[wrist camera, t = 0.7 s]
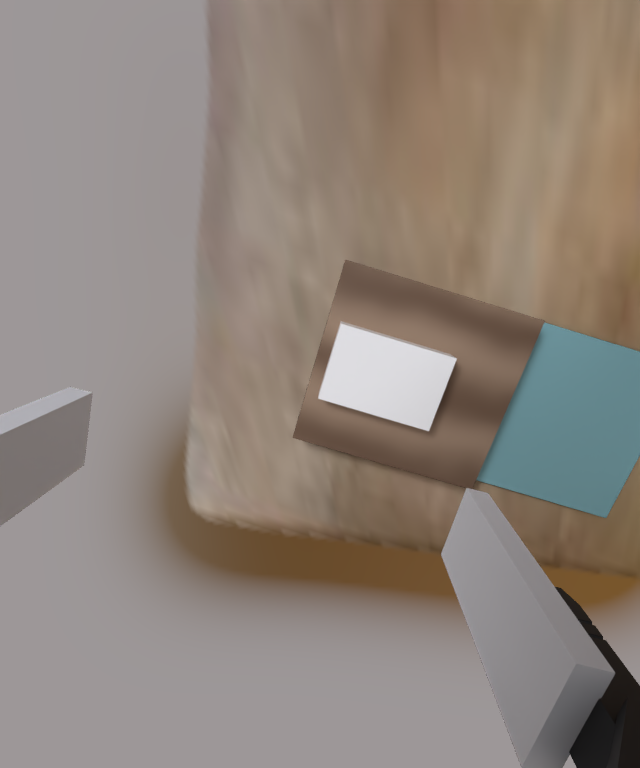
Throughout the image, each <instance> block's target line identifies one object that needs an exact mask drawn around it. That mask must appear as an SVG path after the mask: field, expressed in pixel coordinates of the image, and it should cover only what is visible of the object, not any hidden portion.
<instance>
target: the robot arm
mask: <svg viewBox="0 0 640 768" xmlns="http://www.w3.org/2000/svg"><path fill="white" fill-rule="evenodd" d="M91 401H92V392H89V391H84V390H81V389H76V388H72V387H69V388H66V389H64V390H61V391H59V392H56V393H54V394H51V395H49V396H46V397H44V398H41V399H38V400H36V401H34V402H31V403H29V404H26V405H24V406H21V407H18V408H16V409H13V410H11V411H9V412H6V413H3V414H1V415H0V526H1V525H3V524H4V523H5V522H7V521H8V520H10V519H11V518H12V517H14V516H15V515H16V514H18V513H19V512H21V511H22V510H23V509H25V508H26V507H27V506H29V505H30V504H31V503H33V502H34V501H36V500H37V499H38V498H40V497H41V496H42V495H44V494H45V493H46V492H48V491H49V490H51V489H52V488H53V487H55V486H56V485H58V484H59V483H60V482H62V481H63V480H64V479H66V478H67V477H69V476H70V475H71V474H73V473H74V472H75V471H77V470H78V469H79V468H81V467H82V466H84V462H85V453H86V444H87V435H88V428H89V419H90V410H91ZM441 556H442V558H443V561H444V564H445V566H446V569H447V571H448V574H449V577H450V580H451V582H452V585H453V587H454V590H455V593H456V595H457V598H458V601H459V603H460V606H461V609H462V611H463V614H464V616H465V619H466V622H467V625H468V627H469V630H470V632H471V635H472V638H473V640H474V643H475V646H476V648H477V651H478V654H479V656H480V659H481V661H482V664H483V667H484V669H485V672H486V675H487V678H488V680H489V683H490V685H491V688H492V691H493V693H494V696H495V699H496V701H497V704H498V707H499V709H500V712H501V715H502V717H503V720H504V723H505V725H506V727H507V730H508V733H509V736H510V738H511V741H512V744H513V746H514V749H515V752H516V754H517V757H518V759H519V762H520V765H521V767H522V768H562V767H563V766H564V764H565V762H566V760H567V758H568V757H569V755H571V757H572V759H573V761H574V763H575V765H576V767H577V768H640V686H639V684H638V683H637V682H636V680H635V679H634V678H633V676H632V675H631V674H630V672H629V671H628V670H627V668H626V667H625V665H624V664H623V663H622V661H621V660H620V659H619V657H618V656H617V655H616V654H615V652H614V651H613V650H612V648H611V647H610V645H609V644H608V643H607V641H605V640H603V636H602V635H601V634H600V632H599V631H598V629H597V628H596V627H595V626H594V625H592V621H591V620H590V619H589V617H588V616H587V614H586V613H585V612H584V611H583V609H582V608H581V606H580V605H579V604H578V603H577V602H576V601H574V600H573V599H572V598H571V597H570V596H569V595H568V594H567V593H565V592H564V591H563V590H562V589H561V588H558V587H554V585H553V584H552V583H551V581H550V580H549V579H548V577H547V576H546V574H545V573H544V571H543V570H542V568H541V567H540V566H539V564H538V563H537V561H536V560H535V559H534V557H533V556H532V554H531V553H530V552H529V550H528V549H527V547H526V546H525V544H524V543H523V542H522V540H521V539H520V537H519V536H518V535H517V533H516V532H515V530H514V529H513V528H512V526H511V525H510V523H509V522H508V520H507V519H506V518H505V516H504V515H503V513H502V512H501V511H500V509H499V508H498V506H497V505H496V504H495V502H494V501H493V499H492V498H491V496H490V495H489V494H488V493H486V492H482V491H478V490H474V489H470V488H466V491H465V494H464V496H463V499H462V501H461V504H460V506H459V509H458V512H457V514H456V517H455V519H454V522H453V525H452V527H451V530H450V532H449V535H448V538H447V540H446V543H445V545H444V548H443V551H442V553H441Z"/></svg>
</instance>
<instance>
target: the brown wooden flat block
mask: <svg viewBox="0 0 640 768" xmlns="http://www.w3.org/2000/svg"><path fill="white" fill-rule="evenodd" d="M341 321H342V322H345V323H349V324H352V325H355V326H359V327H362V328H365V329H369V330H372V331H375V332H379V333H382V334H385V335H389V336H392V337H395V338H398V339H402V340H405V341H408V342H412V343H415V344H418V345H422V346H425V347H428V348H432V349H435V350H438V351H442V352H445V353H448V354H451V355H452V356H454V357H455V358H457V360H456V362H455V365H454V368H453V370H452V373H451V375H450V378H449V381H448V383H447V386H446V388H445V391H444V393H443V396H442V399H441V401H440V404H439V406H438V409H437V412H436V414H435V417H434V419H433V422H432V424H431V427H430V430H429V431H426V430H423V429H419V428H416V427H413V426H409V425H406V424H402V423H399V422H396V421H392V420H389V419H385V418H382V417H379V416H375V415H372V414H368V413H365V412H362V411H358V410H355V409H352V408H348V407H345V406H341V405H338V404H335V403H331V402H328V401H324V400H321V399H318V395H319V390H320V387H321V384H322V381H323V377H324V374H325V371H326V367H327V364H328V361H329V358H330V354H331V351H332V348H333V345H334V341H335V338H336V335H337V332H338V328H339V325H340V322H341ZM544 322H545V321H544V320H540V319H537V318H534V317H531V316H527V315H524V314H521V313H518V312H514V311H511V310H508V309H505V308H501V307H498V306H495V305H492V304H488V303H485V302H482V301H479V300H475V299H472V298H469V297H466V296H462V295H459V294H456V293H452V292H449V291H446V290H443V289H439V288H436V287H433V286H430V285H426V284H423V283H420V282H417V281H413V280H410V279H407V278H404V277H400V276H397V275H394V274H391V273H387V272H384V271H381V270H378V269H374V268H371V267H368V266H365V265H361V264H358V263H355V262H352V261H348V260H345V263H344V266H343V270H342V273H341V276H340V280H339V283H338V286H337V290H336V293H335V296H334V300H333V303H332V307H331V310H330V313H329V317H328V320H327V323H326V327H325V330H324V333H323V337H322V340H321V344H320V347H319V350H318V354H317V357H316V360H315V364H314V367H313V370H312V374H311V377H310V380H309V384H308V387H307V391H306V394H305V397H304V401H303V404H302V407H301V411H300V414H299V417H298V421H297V424H296V428H295V431H294V435H293V438H296V439H299V440H303V441H306V442H310V443H313V444H316V445H320V446H323V447H327V448H330V449H334V450H337V451H340V452H344V453H347V454H351V455H354V456H358V457H361V458H364V459H368V460H371V461H375V462H378V463H382V464H385V465H388V466H392V467H395V468H399V469H402V470H406V471H409V472H413V473H416V474H419V475H423V476H426V477H430V478H433V479H437V480H440V481H443V482H447V483H450V484H454V485H457V486H461V487H464V488H470V489H472V488H473V486H474V484H475V482H476V479H477V477H478V475H479V472H480V470H481V468H482V465H483V463H484V461H485V458H486V456H487V454H488V451H489V449H490V447H491V445H492V442H493V440H494V438H495V435H496V433H497V431H498V428H499V426H500V424H501V421H502V419H503V417H504V415H505V412H506V410H507V408H508V405H509V403H510V401H511V398H512V396H513V394H514V391H515V389H516V387H517V385H518V382H519V380H520V378H521V375H522V373H523V371H524V368H525V366H526V364H527V361H528V359H529V357H530V355H531V352H532V350H533V348H534V345H535V343H536V341H537V338H538V336H539V334H540V331H541V329H542V327H543V325H544Z"/></svg>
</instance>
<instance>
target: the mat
mask: <svg viewBox="0 0 640 768" xmlns="http://www.w3.org/2000/svg"><path fill="white" fill-rule="evenodd" d="M639 456H640V352H639V351H636V350H632V349H629V348H626V347H623V346H619V345H616V344H613V343H610V342H606V341H603V340H600V339H597V338H593V337H590V336H587V335H584V334H580V333H577V332H574V331H571V330H567V329H564V328H561V327H557V326H554V325H551V324H548V323H544V325H543V327H542V329H541V331H540V334H539V336H538V338H537V341H536V343H535V345H534V348H533V350H532V352H531V355H530V357H529V359H528V361H527V364H526V366H525V368H524V371H523V373H522V375H521V378H520V380H519V382H518V385H517V387H516V389H515V391H514V394H513V396H512V398H511V401H510V403H509V405H508V408H507V410H506V412H505V415H504V417H503V419H502V421H501V424H500V426H499V428H498V431H497V433H496V435H495V438H494V440H493V442H492V445H491V447H490V449H489V451H488V454H487V456H486V458H485V461H484V463H483V465H482V468H481V470H480V472H479V475H478V477H477V479H476V480H478V481H481V482H484V483H488V484H491V485H495V486H498V487H502V488H505V489H508V490H512V491H515V492H519V493H522V494H525V495H529V496H532V497H536V498H539V499H543V500H546V501H549V502H553V503H556V504H560V505H563V506H567V507H570V508H573V509H577V510H580V511H584V512H587V513H591V514H594V515H597V516H601V517H604V518H606V517H607V515H608V514H609V512H610V510H611V508H612V506H613V504H614V502H615V500H616V499H617V497H618V495H619V493H620V491H621V489H622V487H623V486H624V484H625V482H626V480H627V478H628V476H629V474H630V473H631V471H632V469H633V467H634V465H635V463H636V461H637V460H638V458H639Z"/></svg>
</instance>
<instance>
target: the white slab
mask: <svg viewBox="0 0 640 768" xmlns="http://www.w3.org/2000/svg"><path fill="white" fill-rule="evenodd" d="M456 360H457V358H455V357H454V356H452V355H451V354H448V353H445V352H442V351H438V350H435V349H432V348H428V347H425V346H422V345H418V344H415V343H412V342H408V341H405V340H402V339H398V338H395V337H392V336H389V335H385V334H382V333H379V332H375V331H372V330H369V329H365V328H362V327H359V326H355V325H352V324H349V323H345V322H342V321H341V322H340V325H339V328H338V332H337V335H336V338H335V341H334V345H333V348H332V351H331V354H330V358H329V361H328V364H327V367H326V371H325V374H324V377H323V381H322V384H321V387H320V390H319V395H318V399H321V400H324V401H328V402H331V403H335V404H338V405H341V406H345V407H348V408H352V409H355V410H358V411H362V412H365V413H368V414H372V415H375V416H379V417H382V418H385V419H389V420H392V421H396V422H399V423H402V424H406V425H409V426H413V427H416V428H419V429H423V430H426V431H429V430H430V427H431V424H432V422H433V419H434V417H435V414H436V412H437V409H438V406H439V404H440V401H441V399H442V396H443V393H444V391H445V388H446V386H447V383H448V381H449V378H450V375H451V373H452V370H453V368H454V365H455V362H456Z"/></svg>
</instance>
